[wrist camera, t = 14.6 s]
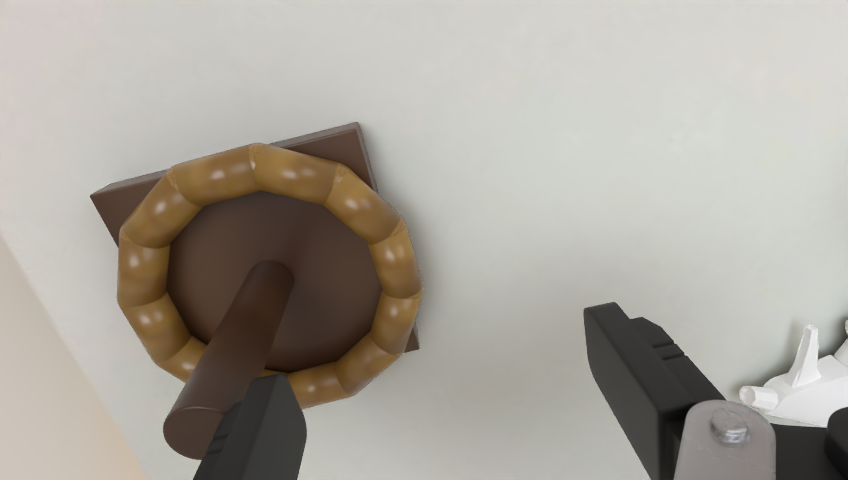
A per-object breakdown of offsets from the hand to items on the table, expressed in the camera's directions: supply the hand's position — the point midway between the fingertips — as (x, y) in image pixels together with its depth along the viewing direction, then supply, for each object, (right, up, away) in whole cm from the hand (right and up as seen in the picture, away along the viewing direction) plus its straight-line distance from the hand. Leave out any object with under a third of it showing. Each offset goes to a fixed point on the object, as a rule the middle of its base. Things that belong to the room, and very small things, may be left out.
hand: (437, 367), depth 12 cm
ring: (-6, +1, +6) cm, 9 cm away
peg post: (-7, +2, +8) cm, 11 cm away
